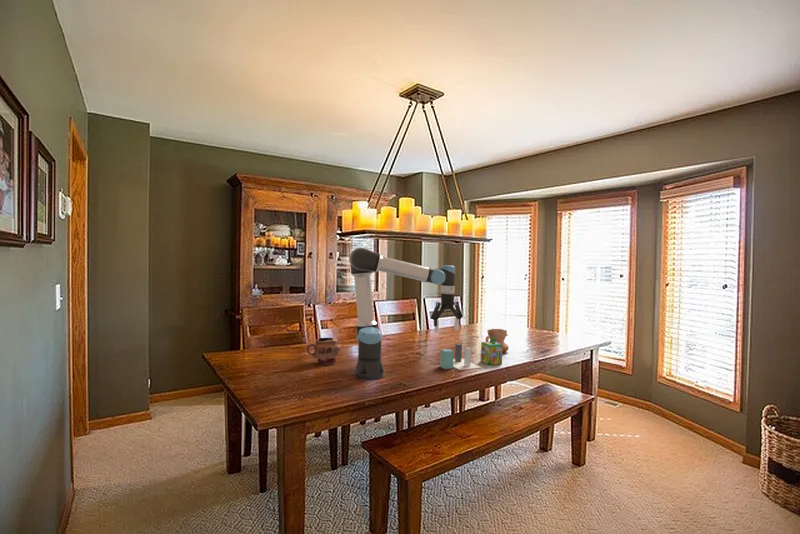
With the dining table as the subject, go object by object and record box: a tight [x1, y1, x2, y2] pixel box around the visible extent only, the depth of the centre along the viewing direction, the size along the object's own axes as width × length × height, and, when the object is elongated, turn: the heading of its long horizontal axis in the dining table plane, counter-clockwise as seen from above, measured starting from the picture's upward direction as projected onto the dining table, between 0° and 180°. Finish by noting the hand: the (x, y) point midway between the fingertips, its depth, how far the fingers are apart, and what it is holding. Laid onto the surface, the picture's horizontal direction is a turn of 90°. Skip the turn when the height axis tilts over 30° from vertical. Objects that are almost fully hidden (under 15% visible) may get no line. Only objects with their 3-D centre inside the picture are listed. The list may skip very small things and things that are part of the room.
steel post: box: [463, 346, 472, 367], centre depth 229 cm, size 3×3×10 cm
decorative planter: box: [305, 337, 343, 366], centre depth 229 cm, size 20×12×14 cm, turn 119°
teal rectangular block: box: [439, 348, 455, 370], centre depth 227 cm, size 5×5×10 cm
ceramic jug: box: [485, 328, 509, 354], centre depth 267 cm, size 18×14×14 cm
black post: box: [454, 343, 463, 362], centre depth 239 cm, size 3×3×10 cm
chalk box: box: [480, 337, 503, 366], centre depth 239 cm, size 9×9×15 cm
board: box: [453, 357, 482, 371], centre depth 234 cm, size 14×20×1 cm
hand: (446, 331), depth 229 cm, fingers open, 13 cm apart
